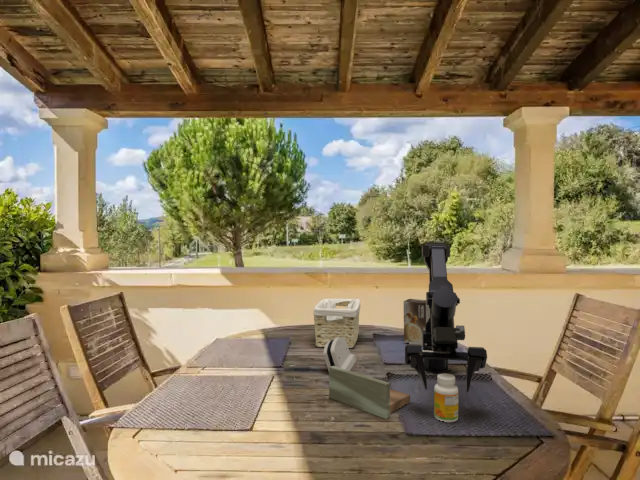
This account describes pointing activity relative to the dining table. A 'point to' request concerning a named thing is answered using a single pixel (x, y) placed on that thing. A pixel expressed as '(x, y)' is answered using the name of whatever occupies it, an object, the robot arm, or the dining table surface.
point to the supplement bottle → (446, 398)
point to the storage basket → (336, 321)
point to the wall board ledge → (365, 392)
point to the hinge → (338, 354)
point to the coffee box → (415, 320)
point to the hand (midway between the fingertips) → (446, 389)
